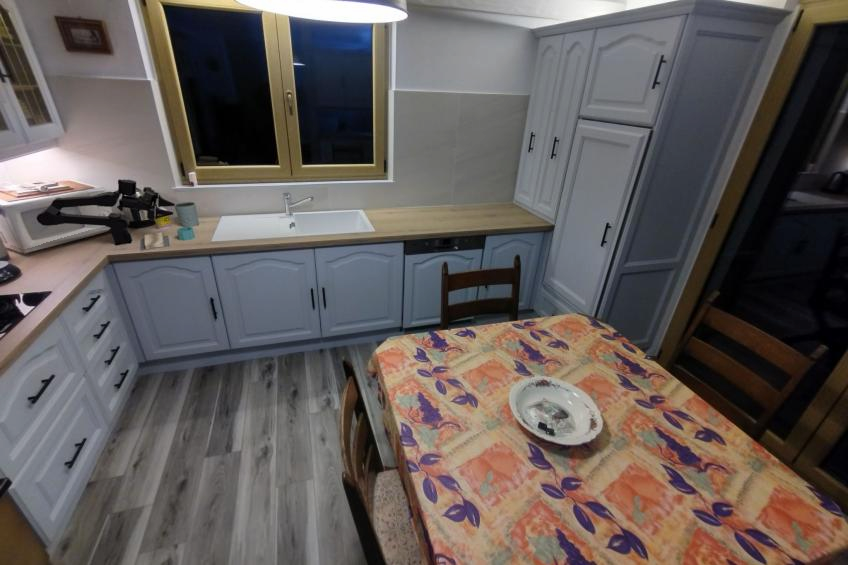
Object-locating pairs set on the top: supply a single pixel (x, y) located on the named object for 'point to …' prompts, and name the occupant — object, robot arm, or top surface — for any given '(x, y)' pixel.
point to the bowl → (185, 233)
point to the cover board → (154, 240)
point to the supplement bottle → (163, 221)
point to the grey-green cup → (187, 214)
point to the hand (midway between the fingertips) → (173, 209)
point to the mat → (166, 244)
